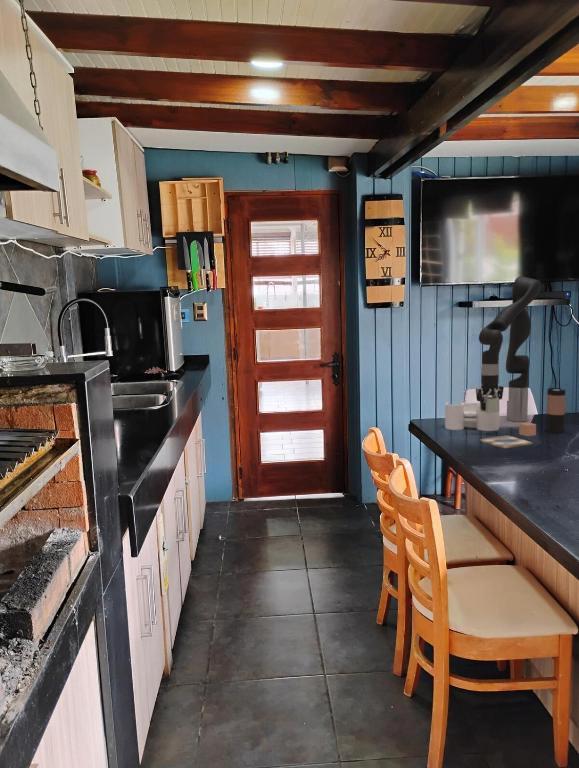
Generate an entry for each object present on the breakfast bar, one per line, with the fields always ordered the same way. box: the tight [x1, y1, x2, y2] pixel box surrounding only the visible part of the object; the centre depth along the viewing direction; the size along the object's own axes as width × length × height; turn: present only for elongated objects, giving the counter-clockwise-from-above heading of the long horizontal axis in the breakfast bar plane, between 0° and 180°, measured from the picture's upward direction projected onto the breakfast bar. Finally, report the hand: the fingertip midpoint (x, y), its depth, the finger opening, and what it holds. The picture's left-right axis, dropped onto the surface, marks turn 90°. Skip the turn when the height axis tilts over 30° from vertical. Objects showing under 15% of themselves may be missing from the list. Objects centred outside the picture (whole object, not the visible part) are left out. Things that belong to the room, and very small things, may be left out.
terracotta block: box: [518, 422, 537, 437], centre depth 259 cm, size 5×5×5 cm
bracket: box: [444, 401, 500, 432], centre depth 275 cm, size 25×10×12 cm, turn 75°
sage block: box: [479, 396, 500, 413], centre depth 260 cm, size 6×6×6 cm
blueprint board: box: [480, 434, 533, 449], centre depth 247 cm, size 15×15×1 cm
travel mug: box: [546, 387, 566, 435], centre depth 261 cm, size 8×8×20 cm
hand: (489, 409), depth 261 cm, fingers closed on sage block, 6 cm apart
